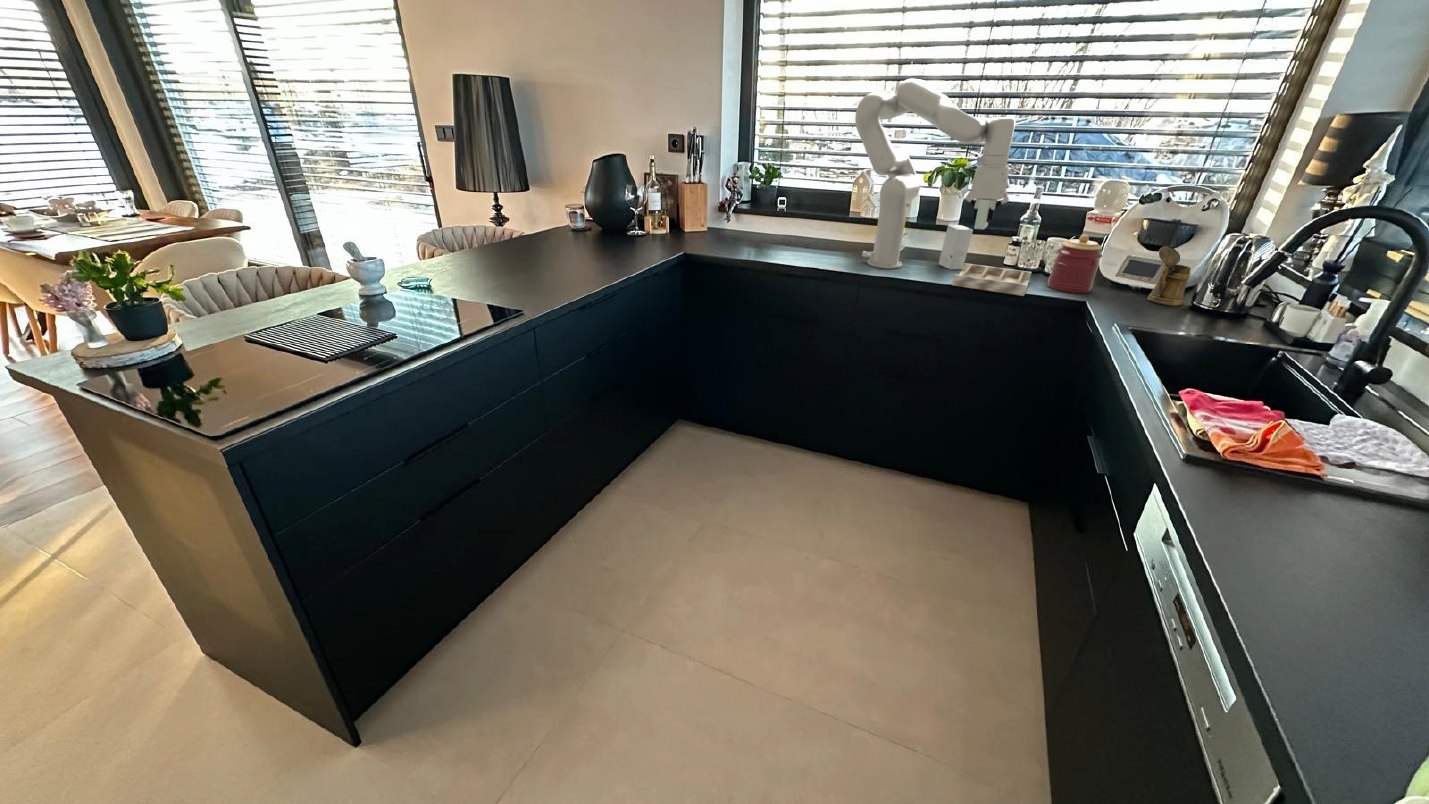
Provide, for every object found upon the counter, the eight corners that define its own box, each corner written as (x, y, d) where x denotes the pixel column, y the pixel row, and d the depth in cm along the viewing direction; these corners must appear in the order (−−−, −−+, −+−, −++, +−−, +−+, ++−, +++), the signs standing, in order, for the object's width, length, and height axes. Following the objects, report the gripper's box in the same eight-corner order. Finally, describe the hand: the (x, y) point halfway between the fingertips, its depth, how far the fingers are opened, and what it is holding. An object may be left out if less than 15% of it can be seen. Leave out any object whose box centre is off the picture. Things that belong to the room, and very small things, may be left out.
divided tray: (951, 285, 187) (953, 274, 186) (961, 272, 203) (964, 263, 201) (1023, 295, 177) (1026, 285, 176) (1028, 282, 193) (1031, 272, 191)
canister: (1049, 281, 195) (1064, 229, 186) (1092, 287, 188) (1110, 234, 180) (1043, 289, 185) (1059, 234, 177) (1088, 296, 179) (1107, 240, 170)
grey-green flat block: (974, 228, 182) (979, 199, 178) (977, 225, 188) (983, 197, 184) (984, 229, 181) (989, 200, 177) (987, 225, 187) (993, 197, 183)
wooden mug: (1130, 300, 175) (1152, 242, 167) (1159, 296, 180) (1182, 239, 171) (1158, 308, 168) (1183, 248, 160) (1188, 304, 172) (1213, 245, 164)
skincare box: (938, 264, 213) (946, 224, 207) (952, 264, 214) (961, 224, 207) (949, 269, 206) (958, 228, 199) (964, 269, 207) (973, 228, 200)
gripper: (964, 161, 177) (954, 221, 185) (1021, 162, 169) (1008, 225, 177) (968, 160, 182) (958, 218, 191) (1024, 161, 175) (1010, 221, 183)
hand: (982, 220), depth 184 cm, fingers closed on grey-green flat block, 3 cm apart
